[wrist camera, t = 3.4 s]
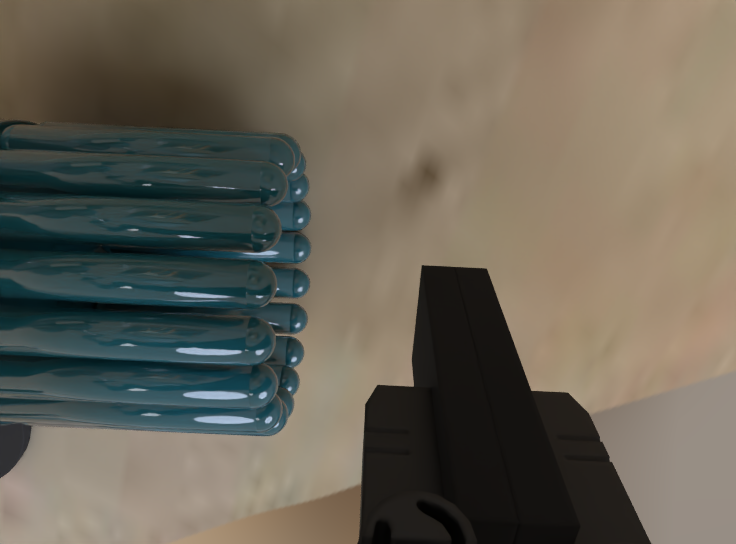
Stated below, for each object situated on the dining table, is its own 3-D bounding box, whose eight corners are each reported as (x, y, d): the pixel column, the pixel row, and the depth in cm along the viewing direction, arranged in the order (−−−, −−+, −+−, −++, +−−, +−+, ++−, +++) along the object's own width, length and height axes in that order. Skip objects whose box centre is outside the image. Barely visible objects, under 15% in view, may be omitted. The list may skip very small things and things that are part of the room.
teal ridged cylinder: (88, 286, 21) (-45, 485, 14) (6, 71, 16) (-263, 232, 9) (314, 296, 21) (284, 499, 14) (309, 86, 16) (257, 257, 9)
